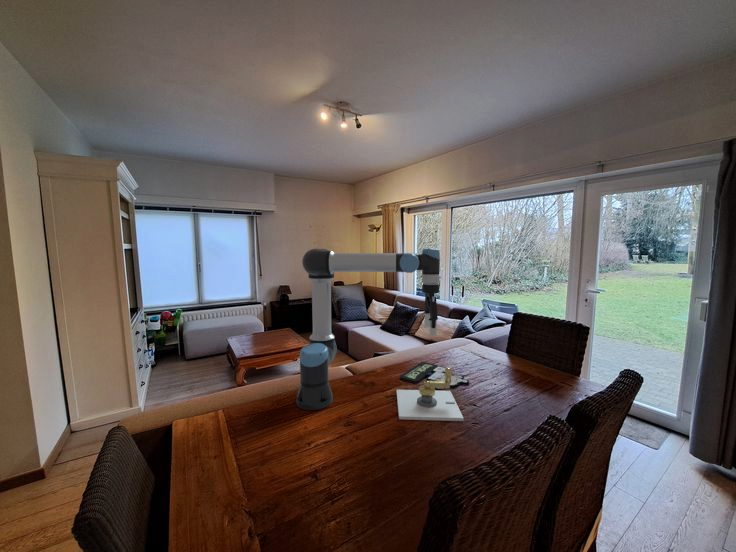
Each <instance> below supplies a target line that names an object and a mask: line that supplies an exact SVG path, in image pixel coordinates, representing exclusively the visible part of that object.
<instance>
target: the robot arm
mask: <svg viewBox="0 0 736 552" xmlns="http://www.w3.org/2000/svg"><path fill="white" fill-rule="evenodd" d="M440 253H441V252H440V249H438V248H423V249H422V251H421V252H419V253H415V252H407V253H406V252H404V253H403V252H400V253H393V252H392V253H391V252H388V253H386V252H385V253H383V252H382V253H380V252H379V253H378V252H377V253H376V252H375V253H373V252H371V253H370V252H369V253H366V252H364V253H363V252H362V253H361V252H358V253H356V252H355V253H354V252H351V253H349V252H347V253H346V252H340V253H339V252H338V253H337V252H334V251H333V250H329V249H327V248H311V249H308V250H307V251H306V252H305V253H304V254H303V256H302V260H301V263H302V268H303V269H304V271H305V272H306V273H307V275H308V276H307V277H308V279H309V281H310V282H311V294H312V295H311V305H312V307H311V308H312V309H311V311H312V334H310V336H309V344H306V345H304V346H303V347H302V348H301V350H300V352H299V358H298V359H299V375H300V376H299V377H300V380H299V381H300V385H299V389H298V392H297V395H296V406H297V407H298V408H299V409H302V410H305V411H319V410H322V409H325V408H327V407H328V406H330V405H332V403H333V401H334V400H333V399H334V398H333V397H334V396H333V392H332V389H331V386H330V383H329V366H331V363H332V362H333V360H334V359H335V357H336V355H337V352H338V350H337V349H338V348H337V344H336V340H335V339H336V338H335V337H336V336H335V335H334V334H333V333H332V282H333V280H334V279H335V272H336V273H339V272H340V273H341V272H342V273H345V272H346V273H349V272H350V273H351V272H352V273H369V272H370V273H407V274H412V273H414V272H415V271H421V283H422V284H421V292H422V293H423V294H424V307H423V311H424V312H423V313H424V328H429V337H431V336H437V321H438V317H439V315H438V306H437V296H435V295H436V294H439V293H440V284H439V283H440V279H441V278H442V277H441V275H440V271H441V270H440V269H441V267H440V265H441V264H440V263H441V262H440V261H441V258H440Z"/></svg>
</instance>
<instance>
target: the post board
mask: <svg viewBox="0 0 736 552" xmlns="http://www.w3.org/2000/svg"><path fill="white" fill-rule="evenodd" d="M396 399H397V412H398V420H410V421H413V420H415V421H444V422H445V421H447V422H448V421H449V422H464V420H465V419H464V416H463V414H462V412H461V410H460V408H459V406H458V403H457V402H456V399H455V397H454V395H453V393H452V392H451V390H447V391H436V390H435V395H434V396H431V397H427V396H423V395H421V394H420V393H419V389H396Z"/></svg>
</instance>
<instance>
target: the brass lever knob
mask: <svg viewBox="0 0 736 552" xmlns="http://www.w3.org/2000/svg"><path fill="white" fill-rule="evenodd" d="M444 367H445V366H444ZM451 375H452V367H451V366H446V367H445V381H426V380H423V384H421V385H420V386H419V387H418V390H419V393H420V394H421V395H423V396H427V397H431V396H434V395H435V388H445V389H451V388H450V383H451Z"/></svg>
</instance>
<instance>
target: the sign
mask: <svg viewBox="0 0 736 552" xmlns="http://www.w3.org/2000/svg"><path fill="white" fill-rule="evenodd" d="M399 379H400V381H403V382H407V383H410V384H414V385H415V384H416V385H417V384H419V383H420V382H422V381H424V380H425V379H426V380H425V381H445V366H441V365H437V364H434V363H430V362H426V361H421V362H419V363H418V364H416V365H414V366H413V367H411V368H410V369H408V370H407V371H405V372H403V373H402V374H400V375H399ZM469 385H470V380H468V379H465V377H464V376H463V375H461V374H451V383H450V388H449V389H457V388H458V387H460V386H469ZM447 389H448V388H435V390H436V391H448V390H447Z"/></svg>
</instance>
